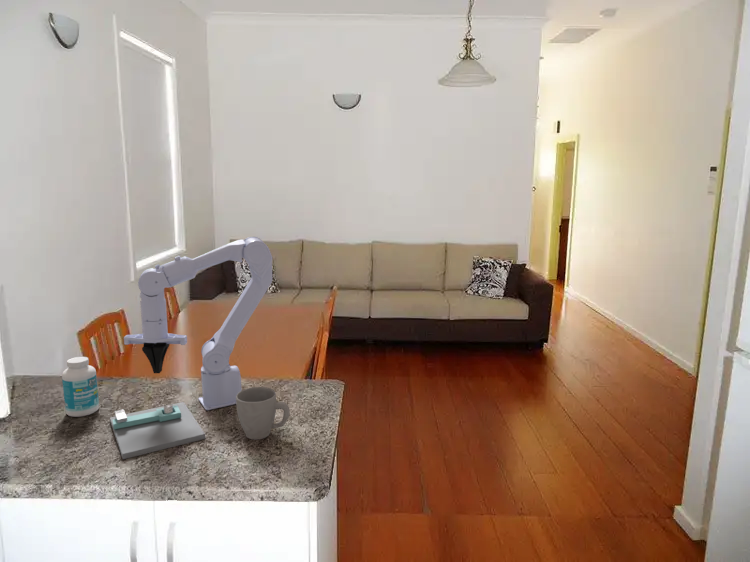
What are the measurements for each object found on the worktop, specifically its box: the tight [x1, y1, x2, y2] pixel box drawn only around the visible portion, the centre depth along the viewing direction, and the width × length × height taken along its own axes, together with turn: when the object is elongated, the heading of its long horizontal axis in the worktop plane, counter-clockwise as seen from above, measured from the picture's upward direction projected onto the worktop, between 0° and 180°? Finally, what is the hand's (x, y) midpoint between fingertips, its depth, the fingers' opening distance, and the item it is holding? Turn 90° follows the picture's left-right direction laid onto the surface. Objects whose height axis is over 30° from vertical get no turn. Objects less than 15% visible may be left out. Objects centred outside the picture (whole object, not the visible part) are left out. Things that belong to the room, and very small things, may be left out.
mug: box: [235, 386, 291, 440], centre depth 125 cm, size 12×9×10 cm
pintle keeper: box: [114, 404, 173, 423], centre depth 130 cm, size 12×5×4 cm, turn 122°
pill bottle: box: [61, 356, 100, 418], centre depth 136 cm, size 8×7×14 cm
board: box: [109, 401, 206, 460], centre depth 128 cm, size 17×20×1 cm
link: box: [113, 405, 181, 429], centre depth 129 cm, size 14×5×1 cm, turn 119°
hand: (157, 371), depth 137 cm, fingers closed
